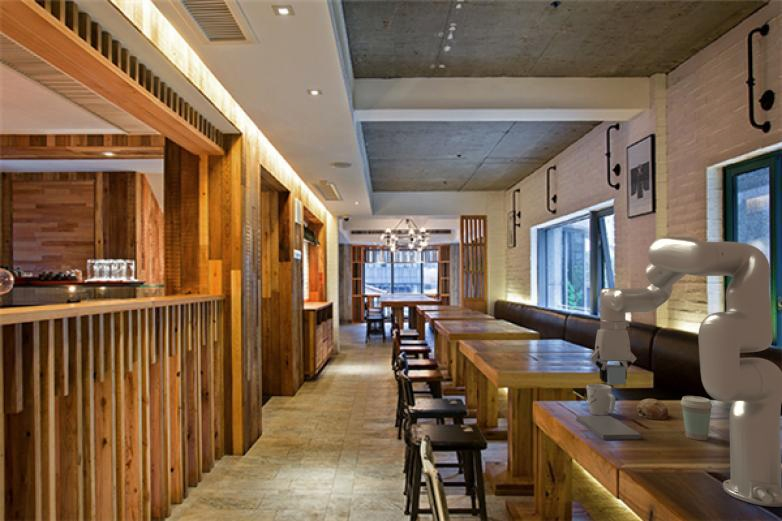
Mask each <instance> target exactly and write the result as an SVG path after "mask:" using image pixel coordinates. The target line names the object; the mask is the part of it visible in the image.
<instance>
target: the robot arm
mask: <svg viewBox="0 0 782 521" xmlns="http://www.w3.org/2000/svg"><path fill="white" fill-rule="evenodd" d="M647 259H648V261H649V263H648V264H647V265H646V267H645V269H644V271H645V272H644V273H645V276H646V278H647V280H648V281H649V282H650V284H649V285H648V286H646V287H645V288H644V287H642V288H641V287H638V288H637V287H633V288H631V287H630V288H629V287H628V288H619V287H603V288H602V289H601V290H600V298H599V300H600V302H599V303H600V304H599V306H600V310H599V311H600V312H599V313H600V317H599V319H600V329H599V328H598V329H597V331H596V337H595V344H594V352H593V353H592V354H591V355H590V357H589V361H591V362H592V363H594V365H595V366H597V368H598V369H599V379H600V381H601V382H602V381H603V383H604V382H607V370H606V365H607V364H608V362H618V363H619V364H618V365H621V366H623V367H626V380H627V378H628V377H627V376H628V375H627V373H628V372H627V371H628V370H629V368H630V367H631V365H632V364H633V363H634V362H636V360H637V357H636V356H635V355H634V353H633V352H632V351H631V342H630V337H629V332H628V330H627V327H630V322H627V320H626V314H627V313H629V314H630V313H649V312H652V311H655V310H656V309H658V308H659V307H660V306H662V305H663V304H664V303H666V302H667V301H668V300H669V299H670V297H671V295H672V293H673V288H674V287H673V285H674V284H676V283H677V282H678V281H680V280H681V279H682V278H684V277H685V276H686V275H689V276H697V277H720V276H721V277H723V276H728V277H731V279H730V281H729V283H728V284H727V285H728V286H727V288H726V292H725V299H726V300H725V301H726V309H725V310H726V311H719V312H714V313H711V314H708V315H707V316H706V317H705V318H703V319H702V321H701V323H700V326H699V328H698V335H697V336H698V354H699V368H700V377H701V383H702V386H703V388H704V390H705V392H706V393H707V394H708V395H709V396H710V398H712V399H714V400H715V401H719V402H724V403H731V406H730V410H729V462H730V466H729V467H730V478H729V479H727V480H726V479H725V480H724V481H723V483H722V489H723V491H724V492H725V493H727V494H728V495H729V496H731V497H733V498H735V499H737V500H739V501H743V502H746V503H748V504H749V503H750V504H753V505H757V506H763V507H771V508H772V507H773V508H775V507H776V508H778V507H782V458H781V456H782V455H781V453H782V452H781V408H782V407H781V406H782V370H781V368H780V367H779V366H778V365H776V364H775V363H774V362H773V361H771V360H768V359H765V358H761V357H740V355H741V354H742V353H744V354H745V353H755V352H761V351H764V350H766V349H768V348H770V346H771V345H772V343H773V338H774V331H773V318H772V303H771V294H770V291H771V290H770V288H771V287H770V283H771V282H770V281H771V266H770V262H769V260H768V257H767V256H766V254H765V253H764V252H763V251H762V250H760V249H759V248H758V247H756V246H754V245H752V244H749V243H745V242H740V241H739V242H738V241H702V240H701V241H700V240H699V239H697V238H694V237H691V236H662V237H658V238H656V239H655V240H653V241H652V243H651V244H650V245H649V247H648V250H647Z"/></svg>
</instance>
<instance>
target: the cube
mask: <svg viewBox="0 0 782 521" xmlns="http://www.w3.org/2000/svg"><path fill="white" fill-rule="evenodd" d="M606 370H607V382H603V381H601V382H603V383H605V385H609V386H612V385H613V386H614V385H615V386H622V385H623V386H624V385H627V382H626V380H627V379H626V367H623V366H621V365H620V364H618V363H607V365H606Z"/></svg>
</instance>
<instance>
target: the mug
mask: <svg viewBox="0 0 782 521" xmlns="http://www.w3.org/2000/svg"><path fill="white" fill-rule="evenodd" d="M586 395H587V403H588V408H589V412H590V414H592V415H593V416H609V414H613V413H614V412H615V407H616V396H615V395H614V394H613V393H612V385H608V384H603V383H589V384H588V383H587V384H586Z"/></svg>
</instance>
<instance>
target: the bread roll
mask: <svg viewBox="0 0 782 521" xmlns="http://www.w3.org/2000/svg"><path fill="white" fill-rule="evenodd" d="M636 410H637V414H638V416H639V417H641V418H642V417H643V418H645V419H650V420H654V419H655V420H656V421H658V420H660V421H662V420H666V419H667V418H668V416H669V410H668V408H667V406H666V405H665V403H664V402H662V401H660V400H658V399H655V398H645V399H642V400H640V401H639V402H638V404H637V407H636ZM655 420H654V421H655Z"/></svg>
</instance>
